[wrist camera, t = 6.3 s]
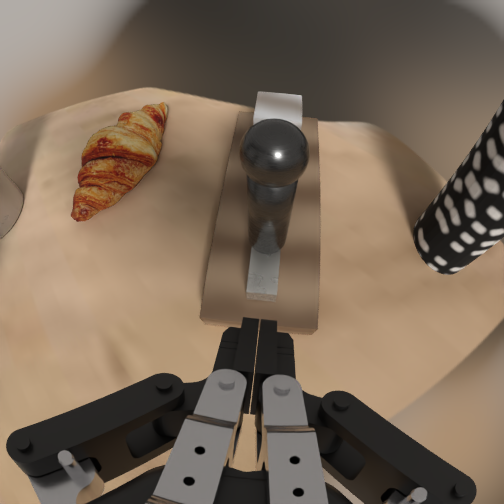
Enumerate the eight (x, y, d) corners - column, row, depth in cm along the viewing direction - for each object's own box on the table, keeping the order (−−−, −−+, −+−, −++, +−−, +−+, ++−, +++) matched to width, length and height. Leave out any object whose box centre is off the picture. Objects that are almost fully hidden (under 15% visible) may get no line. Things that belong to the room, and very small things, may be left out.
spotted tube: (471, 237, 32) (565, 139, 14) (456, 287, 29) (578, 193, 11) (424, 201, 34) (503, 82, 16) (403, 248, 31) (507, 120, 13)
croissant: (155, 127, 44) (126, 92, 38) (200, 112, 39) (169, 69, 33) (81, 236, 35) (38, 200, 30) (118, 238, 30) (65, 191, 24)
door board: (311, 334, 27) (330, 317, 21) (204, 324, 28) (189, 303, 21) (313, 134, 38) (322, 91, 31) (240, 128, 39) (238, 83, 32)
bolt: (284, 302, 25) (316, 211, 12) (237, 297, 26) (221, 202, 13) (291, 187, 30) (311, 67, 17) (252, 183, 31) (252, 61, 18)
